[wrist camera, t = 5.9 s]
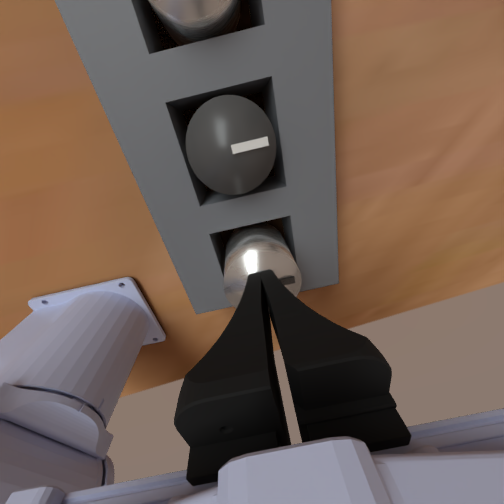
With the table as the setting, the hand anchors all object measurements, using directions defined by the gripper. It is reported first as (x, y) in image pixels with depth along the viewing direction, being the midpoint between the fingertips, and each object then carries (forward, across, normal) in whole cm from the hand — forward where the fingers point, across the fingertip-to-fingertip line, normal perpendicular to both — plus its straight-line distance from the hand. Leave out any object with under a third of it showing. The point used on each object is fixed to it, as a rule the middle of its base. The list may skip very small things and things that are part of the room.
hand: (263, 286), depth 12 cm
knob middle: (+6, 0, -7) cm, 9 cm away
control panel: (+7, 0, -7) cm, 10 cm away
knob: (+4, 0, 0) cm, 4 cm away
